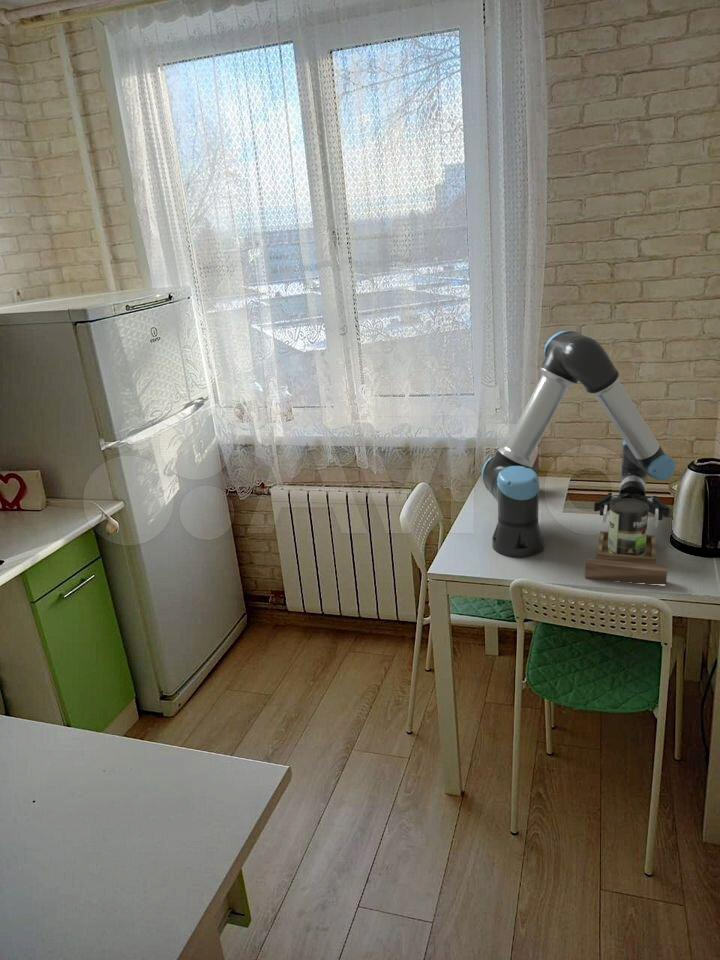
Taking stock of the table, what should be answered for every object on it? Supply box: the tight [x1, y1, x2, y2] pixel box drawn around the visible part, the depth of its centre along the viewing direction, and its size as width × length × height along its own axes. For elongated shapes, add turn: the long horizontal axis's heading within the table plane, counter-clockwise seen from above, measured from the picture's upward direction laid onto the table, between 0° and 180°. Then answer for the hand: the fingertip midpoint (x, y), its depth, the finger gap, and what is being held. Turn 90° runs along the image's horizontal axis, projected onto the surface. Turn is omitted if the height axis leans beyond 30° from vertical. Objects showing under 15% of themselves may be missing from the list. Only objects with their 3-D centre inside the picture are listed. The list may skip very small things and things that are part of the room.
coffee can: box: [608, 498, 649, 556], centre depth 199 cm, size 10×10×14 cm
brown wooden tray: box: [596, 530, 657, 565], centre depth 202 cm, size 15×15×3 cm
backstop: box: [584, 557, 668, 585], centre depth 188 cm, size 3×20×5 cm, turn 69°
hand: (630, 520), depth 198 cm, fingers open, 13 cm apart
